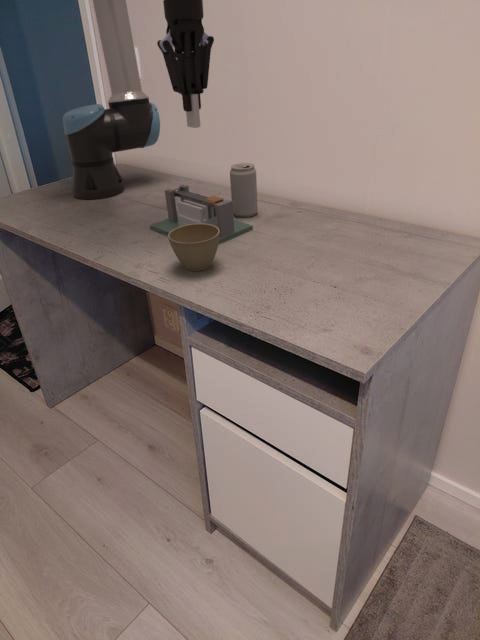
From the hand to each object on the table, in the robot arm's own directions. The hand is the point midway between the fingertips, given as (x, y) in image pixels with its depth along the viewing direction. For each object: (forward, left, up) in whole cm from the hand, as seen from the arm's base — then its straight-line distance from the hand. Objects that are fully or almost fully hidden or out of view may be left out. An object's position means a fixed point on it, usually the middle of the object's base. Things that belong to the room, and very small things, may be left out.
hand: (193, 126), depth 103 cm
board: (+2, -3, -22) cm, 23 cm away
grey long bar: (+2, -3, -16) cm, 16 cm away
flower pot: (+17, -16, -23) cm, 33 cm away
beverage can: (+3, +11, -23) cm, 25 cm away
